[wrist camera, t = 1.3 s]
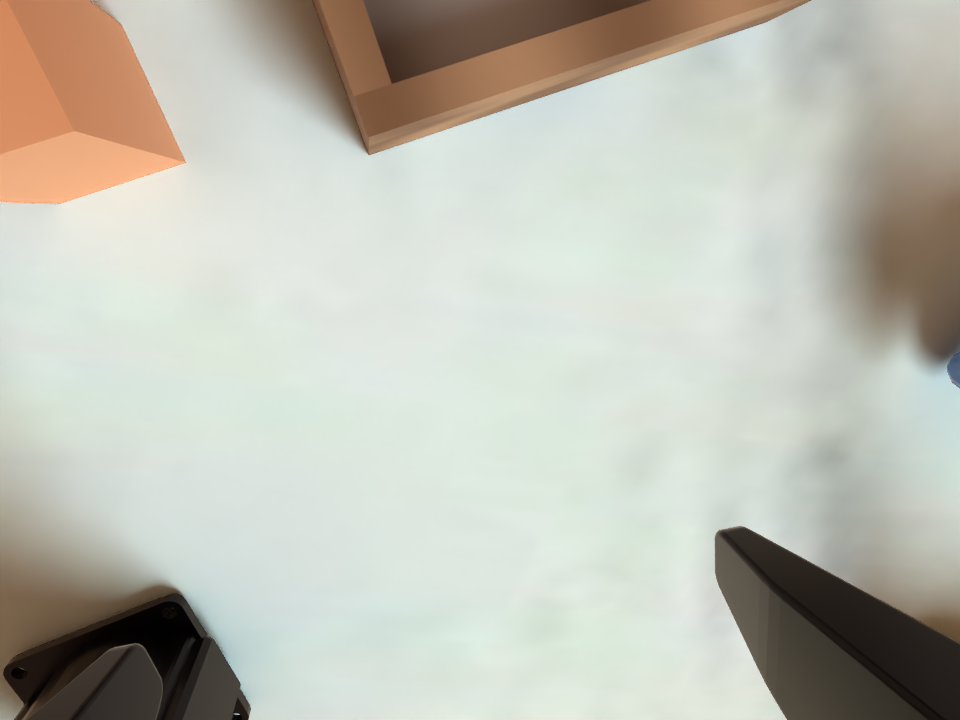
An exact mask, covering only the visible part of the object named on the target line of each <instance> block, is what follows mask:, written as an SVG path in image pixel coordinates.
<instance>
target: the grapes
mask: <svg viewBox="0 0 960 720" xmlns="http://www.w3.org/2000/svg"><path fill="white" fill-rule="evenodd" d="M947 372H948V375H949V377H950V379H951V381H952V383H953V384H955V385H956V386H957V387H959V388H960V352H958V353H956V354H955V355H953V357H952V359H951V360H950V362H949V364H948V366H947Z"/></svg>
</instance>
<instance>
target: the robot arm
mask: <svg viewBox="0 0 960 720" xmlns="http://www.w3.org/2000/svg"><path fill="white" fill-rule="evenodd" d="M715 574H716V578H717V582H718V585H719V587H720V589H721V591H722V594H723V596H724V598H725V600H726V602H727V604H728V606H729V608H730V610H731V613H732V615H733V617H734V619H735V621H736V623H737V625H738V627H739V629H740V631H741V634H742V636H743V638H744V640H745V642H746V644H747V646H748V648H749V650H750V652H751V655H752V657H753V659H754V661H755V663H756V665H757V667H758V669H759V671H760V673H761V675H762V677H763V679H764V681H765V683H766V685H767V687H768V688H769V690H770V692H771V694H772V695H773V697H774V699H775V701H776V702H777V704H778V706H779V707H780V709H781V711H782V712H783V714H784V715H785V717H786V719H787V720H960V643H959V642H957V641H955V640H953V639H951V638H950V637H948V636H946V635H944V634H942V633H940V632H939V631H937V630H935V629H933V628H931V627H929V626H927V625H926V624H924V623H922V622H920V621H918V620H916V619H914V618H913V617H911V616H909V615H907V614H905V613H903V612H902V611H900V610H898V609H896V608H894V607H892V606H890V605H889V604H887V603H885V602H883V601H881V600H879V599H877V598H876V597H874V596H872V595H870V594H868V593H866V592H864V591H863V590H861V589H859V588H857V587H855V586H853V585H852V584H850V583H848V582H846V581H844V580H842V579H840V578H839V577H837V576H835V575H833V574H831V573H829V572H827V571H826V570H824V569H822V568H820V567H818V566H816V565H815V564H813V563H811V562H809V561H807V560H805V559H803V558H802V557H800V556H798V555H796V554H794V553H792V552H790V551H789V550H787V549H785V548H783V547H781V546H779V545H777V544H776V543H774V542H772V541H770V540H768V539H766V538H765V537H763V536H761V535H759V534H757V533H755V532H753V531H752V530H750V529H748V528H746V527H742V526H738V527H733V528H728V529H722V530H719V531H718V532H717V533H716V535H715ZM166 607H173V608H175V609H176V611H173V612H172V611H169V610H168V609H166ZM19 667H21V668H24V669H25V670H27V671H25V670H21V669H20V668H19ZM3 675H4V677H5V679H6V681H7V682H8V683H9V684H10V686H11V687H12V688H13V690H14V691H15V692H16V693H17V695H18V696H19V697H20V699H21V700H22V701H23V702H24V704H25V705H24V707H23V708H22V709H21V711H20V712H19V714H18V715H17V717H16V718H15V719H14V720H248V719H249V715H250V710H251V707H250V704H249V703H248V701H247V700H246V698H245V696H244V695H243V693H242V691H241V690H240V682H239V680H238V679H237V677H236V675H235V674H234V672H233V670H232V669H231V667H230V665H229V664H228V662H227V660H226V659H225V657H224V655H223V654H222V652H221V651H220V649H219V647H218V646H217V644H216V642H215V641H214V639H212V638H211V637H209V636H207V634H206V632H205V631H204V629H203V627H202V626H201V624H200V622H199V621H198V619H197V617H196V616H195V614H194V613H193V611H192V609H191V608H190V606H189V604H188V603H187V601H186V600H185V599H184V598H183V597H182V596H180V595H177V594H170V595H166V596H164V597H161V598H159V599H156V600H154V601H151V602H149V603H146V604H144V605H141V606H139V607H136V608H134V609H131V610H129V611H126V612H124V613H121V614H119V615H116V616H114V617H111V618H109V619H106V620H104V621H101V622H99V623H96V624H94V625H91V626H89V627H86V628H84V629H81V630H79V631H76V632H73V633H71V634H68V635H66V636H63V637H61V638H58V639H56V640H53V641H51V642H48V643H46V644H43V645H41V646H38V647H36V648H33V649H31V650H28V651H26V652H23V653H21V654H18V655H17V656H15V657H13V659H12V660H11V661H10V662H9V664H8V665H7V666H6V668H5V669H4V672H3ZM234 713H238V714H240V715H234Z"/></svg>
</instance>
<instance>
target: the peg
mask: <svg viewBox="0 0 960 720" xmlns="http://www.w3.org/2000/svg"><path fill="white" fill-rule="evenodd" d="M183 163H186V162H185V159H184V157H183V155H182V153H181V151H180V149H179V147H178V144H177V142H176V140H175V138H174V136H173V134H172V132H171V129H170V127H169V125H168V123H167V121H166V119H165V117H164V114H163V112H162V110H161V108H160V106H159V104H158V102H157V99H156V97H155V95H154V93H153V91H152V89H151V87H150V84H149V82H148V80H147V78H146V76H145V74H144V72H143V69H142V67H141V65H140V63H139V61H138V59H137V57H136V54H135V52H134V50H133V48H132V46H131V44H130V42H129V39H128V37H127V35H126V33H125V31H124V29H123V27H122V25H121V24H119V23H118V22H117V21H115V20H114V19H113V18H111V17H110V16H109V15H108V14H106V13H105V12H104V11H102V10H101V9H100V8H98V7H97V6H96V5H94V4H93V3H92V2H91V1H89V0H0V202H14V203H43V204H61V203H64V202H67V201H70V200H73V199H76V198H79V197H82V196H85V195H88V194H91V193H95V192H98V191H101V190H104V189H107V188H110V187H113V186H116V185H119V184H122V183H125V182H128V181H131V180H134V179H137V178H141V177H144V176H147V175H150V174H153V173H156V172H159V171H162V170H165V169H168V168H171V167H174V166H177V165H180V164H183Z"/></svg>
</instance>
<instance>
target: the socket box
mask: <svg viewBox="0 0 960 720" xmlns="http://www.w3.org/2000/svg"><path fill="white" fill-rule="evenodd" d="M312 1H313V4H314V7H315V9H316V12H317V15H318V18H319V20H320V23H321V26H322V29H323V31H324V34H325V37H326V39H327V42H328V45H329V48H330V50H331V53H332V56H333V58H334V61H335V64H336V67H337V69H338V72H339V75H340V78H341V80H342V83H343V86H344V88H345V91H346V94H347V97H348V99H349V102H350V105H351V108H352V110H353V113H354V116H355V118H356V121H357V124H358V127H359V129H360V132H361V135H362V137H363V140H364V143H365V146H366V148H367V151H368V154H369V155H371V154H374V153H377V152H380V151H383V150H386V149H389V148H392V147H395V146H398V145H401V144H404V143H407V142H410V141H413V140H416V139H419V138H422V137H425V136H428V135H431V134H434V133H437V132H440V131H443V130H446V129H449V128H452V127H454V126H457V125H460V124H463V123H466V122H469V121H472V120H475V119H478V118H481V117H484V116H487V115H490V114H493V113H496V112H499V111H502V110H505V109H508V108H511V107H514V106H517V105H520V104H523V103H526V102H529V101H532V100H535V99H538V98H541V97H544V96H547V95H550V94H553V93H556V92H559V91H562V90H565V89H568V88H571V87H574V86H577V85H580V84H583V83H586V82H589V81H592V80H595V79H598V78H601V77H604V76H607V75H610V74H613V73H616V72H619V71H622V70H625V69H628V68H631V67H633V66H636V65H639V64H642V63H645V62H648V61H651V60H654V59H657V58H660V57H663V56H666V55H669V54H672V53H675V52H678V51H681V50H684V49H687V48H690V47H693V46H696V45H699V44H702V43H705V42H708V41H711V40H714V39H717V38H720V37H723V36H726V35H729V34H732V33H735V32H738V31H741V30H744V29H747V28H750V27H753V26H756V25H759V24H762V23H765V22H768V21H770V20H772V19H774V18H776V17H778V16H780V15H782V14H784V13H786V12H788V11H790V10H792V9H794V8H796V7H799V6H801V5H803V4H805V3H807V2H809V1H811V0H312Z"/></svg>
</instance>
